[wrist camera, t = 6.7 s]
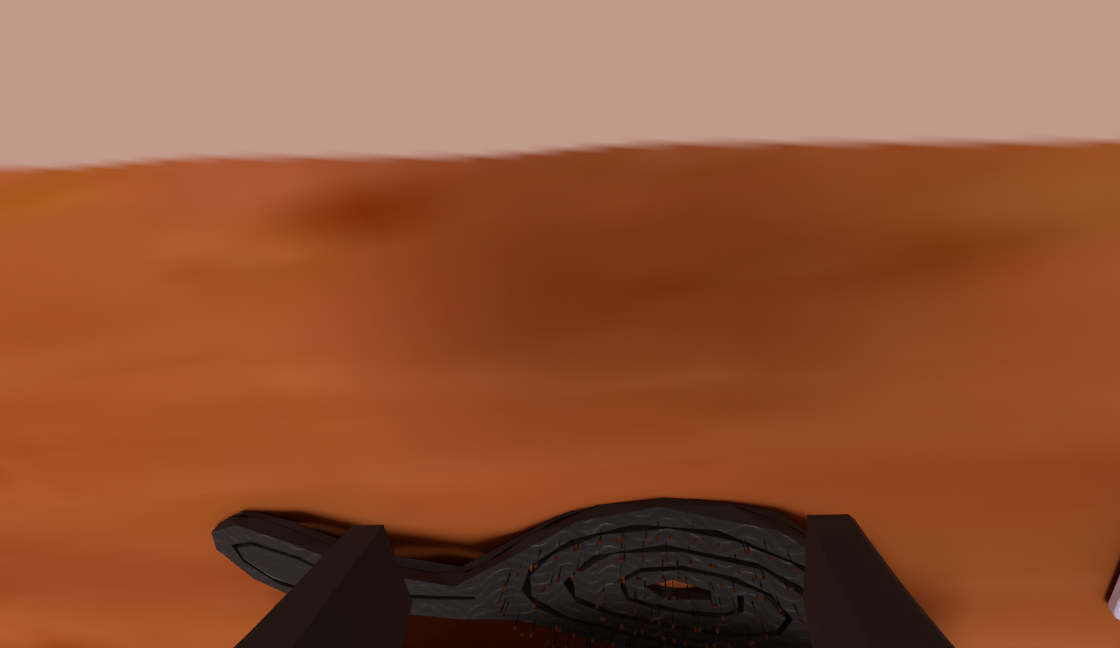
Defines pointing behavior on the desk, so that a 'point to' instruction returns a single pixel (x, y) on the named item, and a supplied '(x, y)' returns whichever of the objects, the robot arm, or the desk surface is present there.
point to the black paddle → (593, 574)
